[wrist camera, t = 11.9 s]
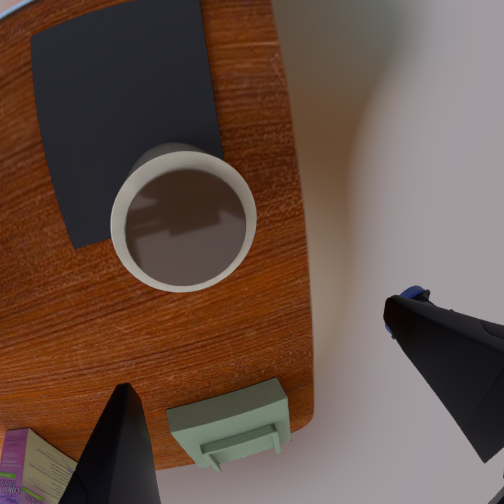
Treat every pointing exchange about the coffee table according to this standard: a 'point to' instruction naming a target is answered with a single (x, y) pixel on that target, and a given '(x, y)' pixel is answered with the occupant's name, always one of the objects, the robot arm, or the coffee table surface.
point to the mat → (119, 101)
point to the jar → (182, 218)
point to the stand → (233, 424)
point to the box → (32, 469)
